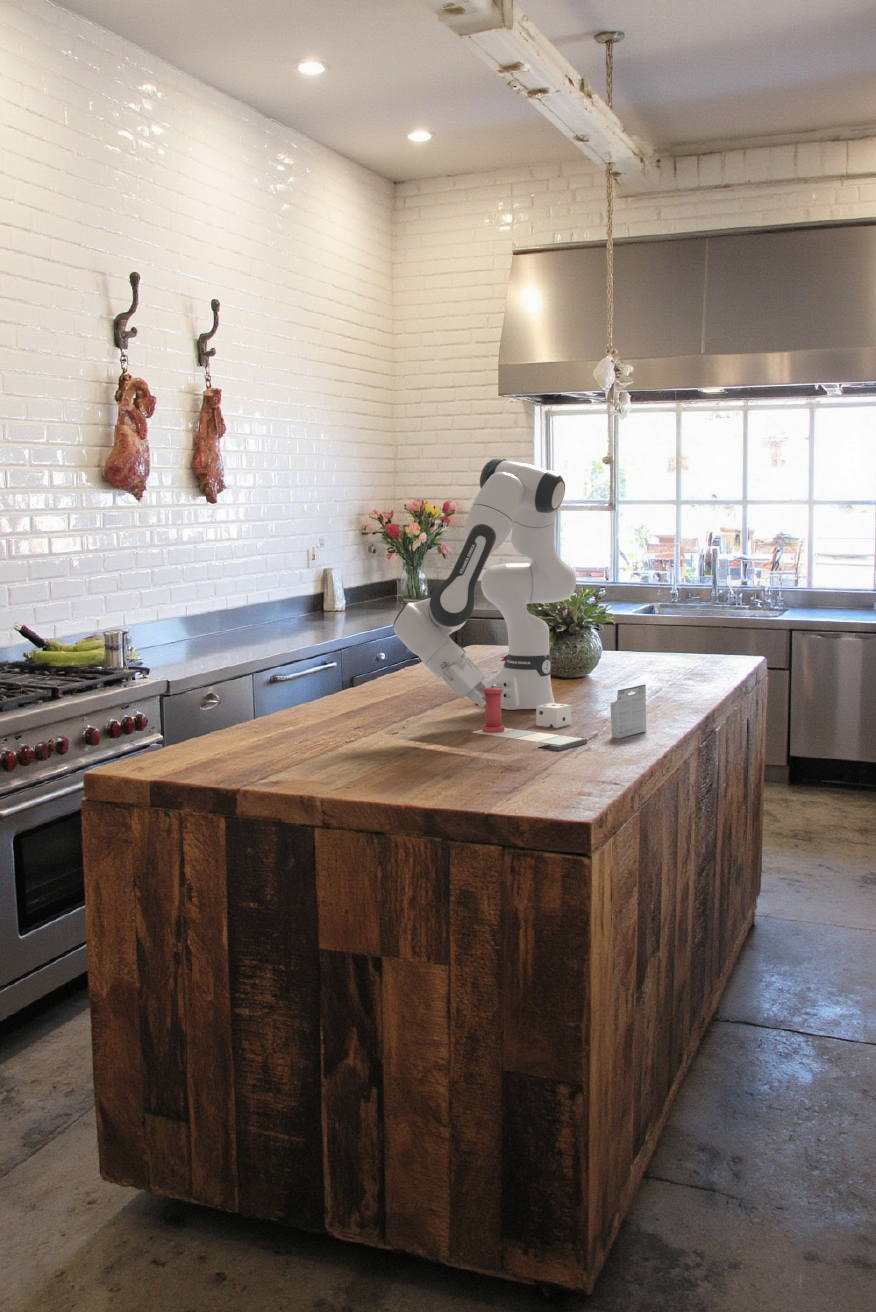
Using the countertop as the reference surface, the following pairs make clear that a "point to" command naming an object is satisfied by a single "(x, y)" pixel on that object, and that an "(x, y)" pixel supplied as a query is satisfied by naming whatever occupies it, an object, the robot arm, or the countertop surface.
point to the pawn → (493, 710)
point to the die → (553, 715)
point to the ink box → (629, 712)
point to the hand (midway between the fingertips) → (488, 702)
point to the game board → (540, 738)
